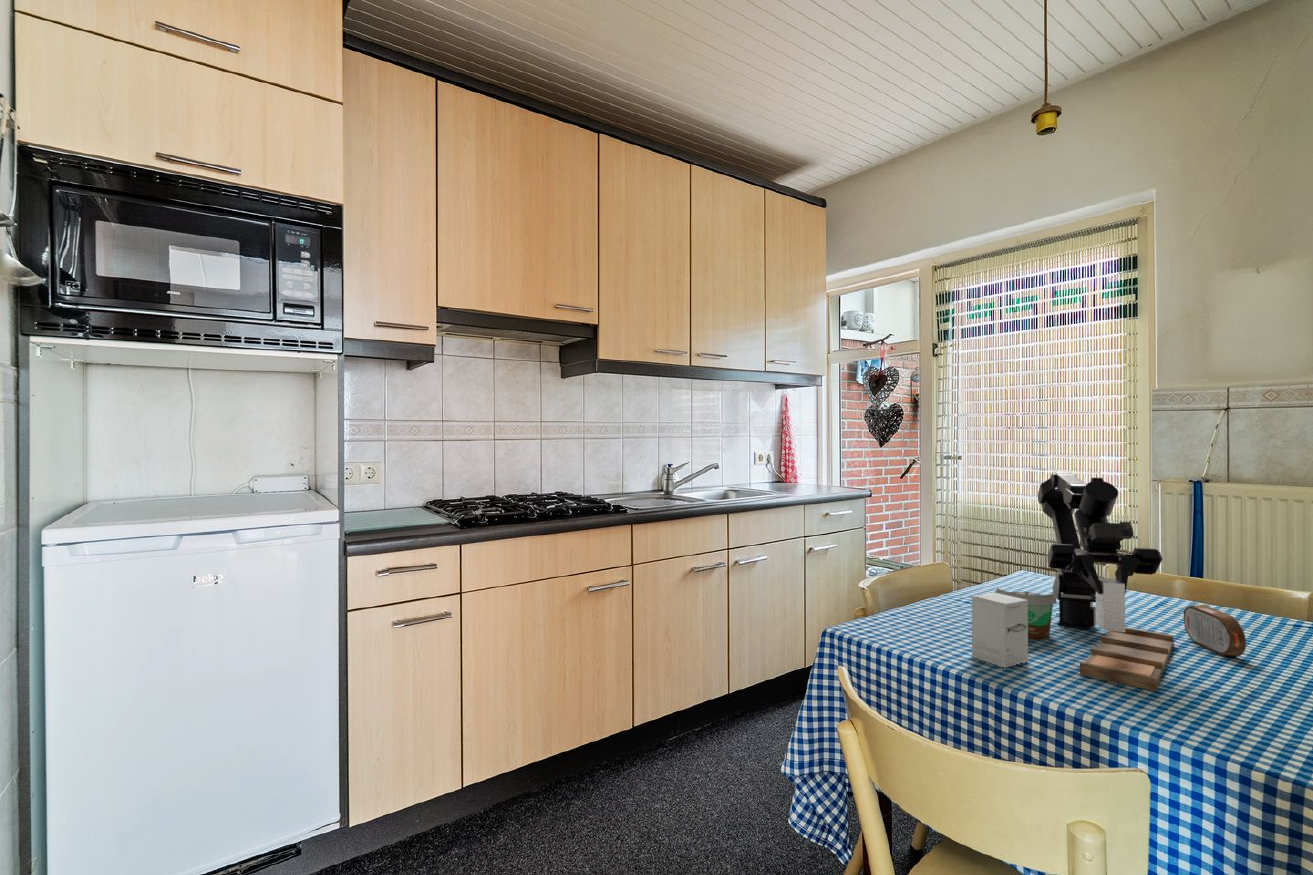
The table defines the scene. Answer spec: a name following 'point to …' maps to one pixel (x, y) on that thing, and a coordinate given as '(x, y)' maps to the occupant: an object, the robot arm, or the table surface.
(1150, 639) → the rack
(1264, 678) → the table surface
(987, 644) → the supplement box
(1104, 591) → the brushed grey box
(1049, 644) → the table surface
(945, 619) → the table surface
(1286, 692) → the table surface
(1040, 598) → the food container
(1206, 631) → the tin
